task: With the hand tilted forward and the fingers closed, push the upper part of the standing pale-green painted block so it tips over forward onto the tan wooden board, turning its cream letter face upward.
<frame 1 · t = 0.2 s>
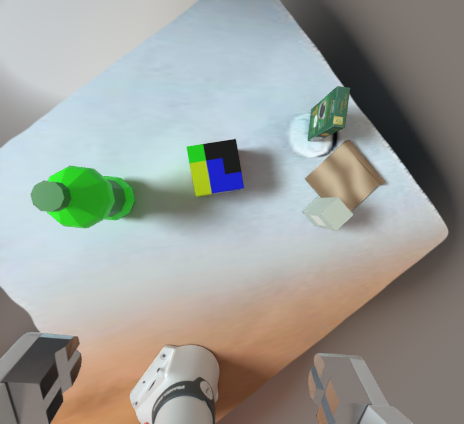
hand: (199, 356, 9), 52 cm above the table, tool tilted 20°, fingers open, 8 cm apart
plastic bottle: (118, 198, 59), on the table
puzzle toy: (215, 173, 60), on the table
coffee box: (313, 126, 62), on the table
board: (342, 180, 63), on the table
letter block: (315, 211, 62), on the table
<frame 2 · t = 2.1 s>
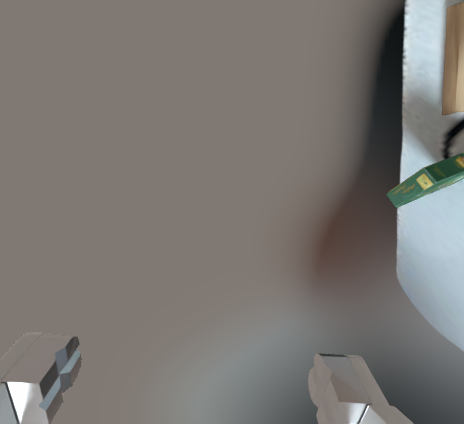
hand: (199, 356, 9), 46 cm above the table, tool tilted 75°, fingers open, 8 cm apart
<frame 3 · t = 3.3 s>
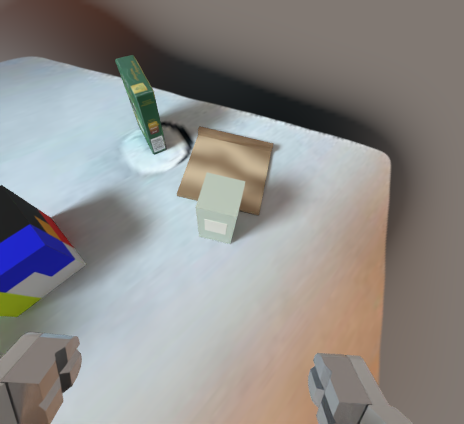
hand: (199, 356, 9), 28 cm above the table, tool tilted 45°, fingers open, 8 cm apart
puzzle toy: (36, 263, 36), on the table
coffee box: (153, 138, 46), on the table
board: (227, 171, 44), on the table
letter block: (218, 226, 40), on the table
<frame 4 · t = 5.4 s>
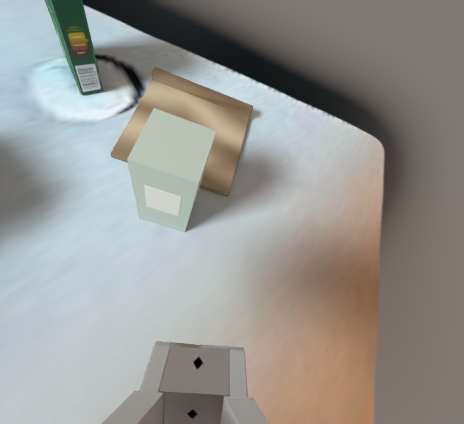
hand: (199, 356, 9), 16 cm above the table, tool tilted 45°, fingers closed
coffee box: (84, 74, 32), on the table
board: (189, 133, 32), on the table
letter block: (170, 205, 28), on the table
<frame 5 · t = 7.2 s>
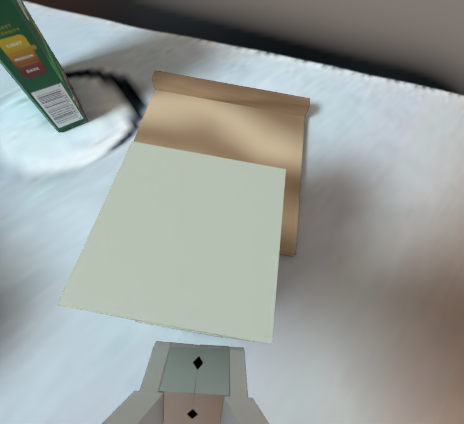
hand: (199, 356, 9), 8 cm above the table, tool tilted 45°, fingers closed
coffee box: (62, 101, 23), on the table
board: (217, 160, 21), on the table
letter block: (202, 290, 17), on the table, touching gripper
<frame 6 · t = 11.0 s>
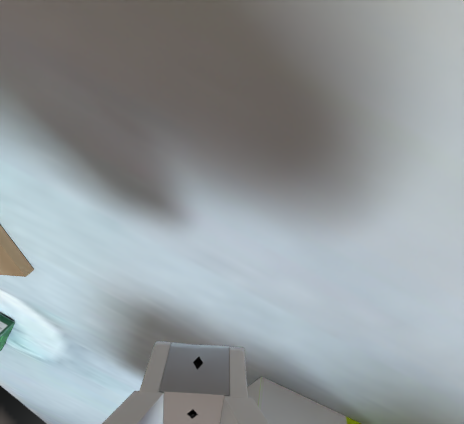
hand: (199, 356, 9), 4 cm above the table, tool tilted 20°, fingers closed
puzzle toy: (287, 419, 20), on the table
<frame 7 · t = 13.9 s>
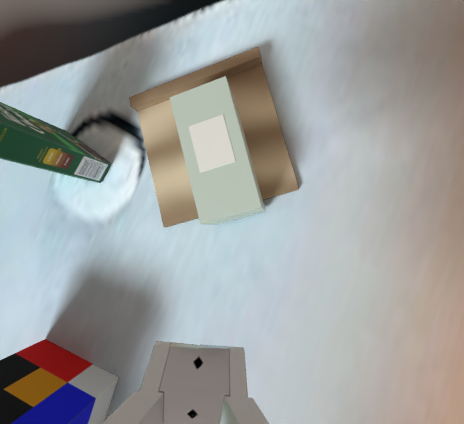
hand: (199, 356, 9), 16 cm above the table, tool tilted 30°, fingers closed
puzzle toy: (68, 399, 28), on the table
coffee box: (85, 157, 29), on the table
board: (212, 144, 26), on the table
letter block: (236, 217, 22), point 3 cm above the table, tilted 90°, touching board
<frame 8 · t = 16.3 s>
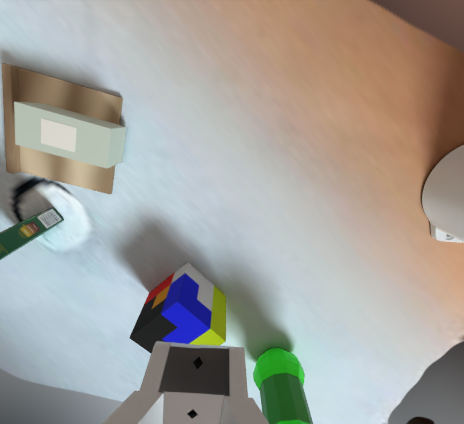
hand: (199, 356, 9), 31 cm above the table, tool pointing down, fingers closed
plastic bottle: (274, 355, 52), on the table
puzzle toy: (188, 293, 46), on the table
coffee box: (41, 221, 40), on the table
board: (67, 135, 35), on the table
letter block: (117, 146, 33), point 3 cm above the table, tilted 90°, touching board
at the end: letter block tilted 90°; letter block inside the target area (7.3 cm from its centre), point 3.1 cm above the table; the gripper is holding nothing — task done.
